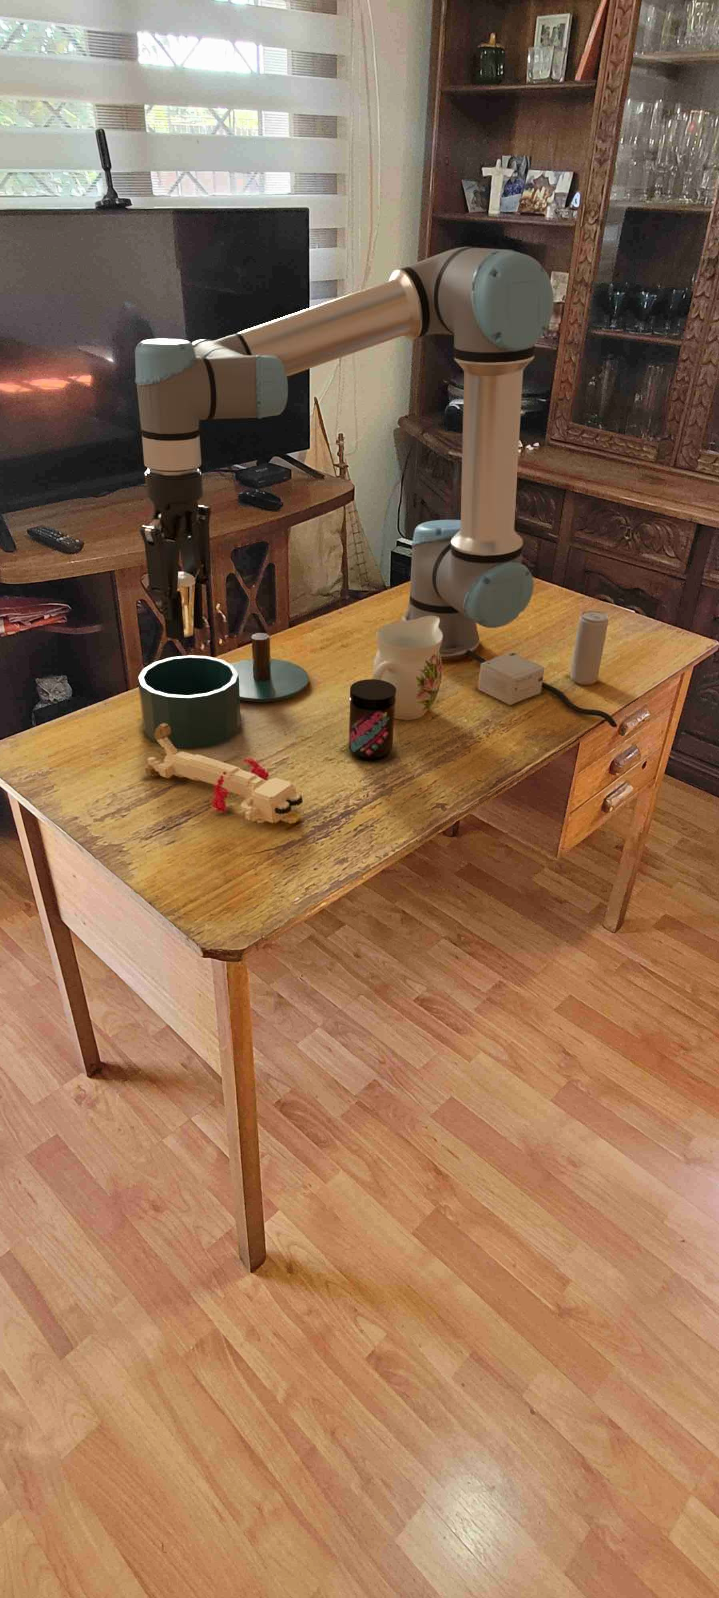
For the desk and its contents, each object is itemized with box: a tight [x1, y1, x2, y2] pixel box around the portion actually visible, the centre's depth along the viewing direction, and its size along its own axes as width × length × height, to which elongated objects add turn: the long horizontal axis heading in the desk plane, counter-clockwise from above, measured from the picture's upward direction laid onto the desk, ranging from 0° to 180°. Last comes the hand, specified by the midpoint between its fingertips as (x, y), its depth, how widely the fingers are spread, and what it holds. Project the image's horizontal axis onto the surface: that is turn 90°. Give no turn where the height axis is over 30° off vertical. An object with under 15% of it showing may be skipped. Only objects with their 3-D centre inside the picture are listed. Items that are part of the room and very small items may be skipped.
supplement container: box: [348, 678, 396, 762], centre depth 137 cm, size 7×7×10 cm
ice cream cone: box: [169, 569, 200, 638], centre depth 134 cm, size 5×5×10 cm
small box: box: [477, 652, 545, 706], centre depth 157 cm, size 8×8×5 cm
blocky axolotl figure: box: [144, 723, 305, 825], centre depth 126 cm, size 10×9×25 cm
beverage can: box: [569, 610, 609, 686], centre depth 160 cm, size 5×5×12 cm
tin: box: [137, 654, 242, 749], centre depth 143 cm, size 15×15×8 cm
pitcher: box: [371, 616, 443, 721], centre depth 147 cm, size 11×18×14 cm, turn 146°
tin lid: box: [230, 632, 310, 703], centre depth 156 cm, size 16×16×9 cm
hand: (185, 631), depth 137 cm, fingers closed on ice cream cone, 4 cm apart
